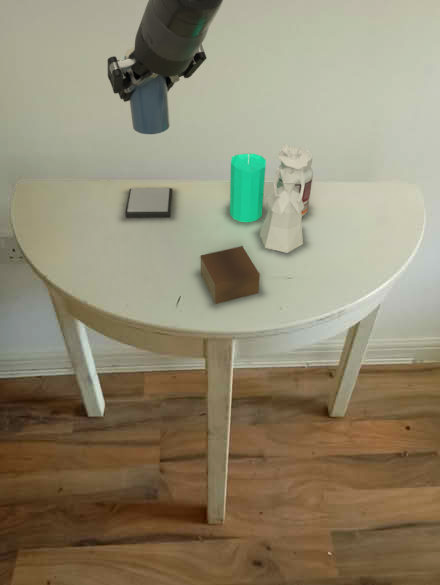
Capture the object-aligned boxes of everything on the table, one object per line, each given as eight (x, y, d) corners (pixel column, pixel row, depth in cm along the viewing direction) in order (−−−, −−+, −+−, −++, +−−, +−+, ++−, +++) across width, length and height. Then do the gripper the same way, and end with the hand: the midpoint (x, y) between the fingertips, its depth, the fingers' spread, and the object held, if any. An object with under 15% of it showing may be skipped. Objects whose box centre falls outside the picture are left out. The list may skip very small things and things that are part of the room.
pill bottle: (299, 198, 95) (306, 143, 87) (312, 216, 91) (322, 160, 83) (268, 203, 94) (273, 148, 86) (281, 222, 90) (287, 166, 82)
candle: (224, 217, 90) (225, 158, 82) (236, 200, 94) (238, 141, 86) (256, 225, 89) (260, 165, 80) (266, 207, 93) (271, 148, 84)
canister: (137, 137, 76) (128, 62, 68) (129, 120, 80) (119, 47, 72) (174, 131, 78) (169, 57, 70) (164, 115, 81) (158, 43, 74)
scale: (125, 218, 90) (124, 211, 89) (130, 193, 96) (129, 186, 95) (170, 217, 90) (169, 211, 90) (172, 192, 96) (171, 186, 95)
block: (215, 304, 75) (215, 285, 72) (200, 274, 80) (200, 255, 77) (258, 293, 77) (260, 274, 74) (241, 264, 82) (242, 245, 79)
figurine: (269, 256, 83) (278, 159, 70) (255, 227, 89) (261, 132, 76) (309, 249, 84) (325, 153, 71) (293, 221, 90) (305, 127, 77)
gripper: (213, -9, 63) (177, 58, 79) (105, 8, 58) (89, 76, 74) (234, 49, 64) (193, 104, 79) (128, 70, 59) (107, 125, 74)
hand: (143, 90), depth 76 cm, fingers closed on canister, 6 cm apart
